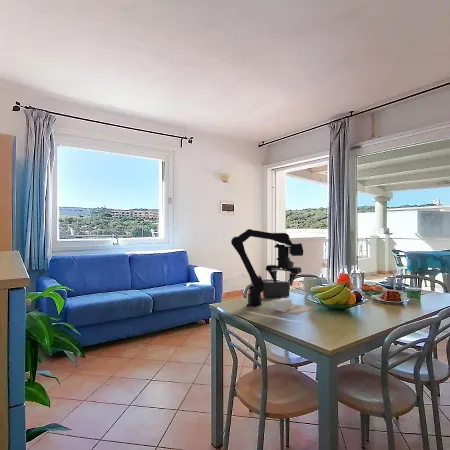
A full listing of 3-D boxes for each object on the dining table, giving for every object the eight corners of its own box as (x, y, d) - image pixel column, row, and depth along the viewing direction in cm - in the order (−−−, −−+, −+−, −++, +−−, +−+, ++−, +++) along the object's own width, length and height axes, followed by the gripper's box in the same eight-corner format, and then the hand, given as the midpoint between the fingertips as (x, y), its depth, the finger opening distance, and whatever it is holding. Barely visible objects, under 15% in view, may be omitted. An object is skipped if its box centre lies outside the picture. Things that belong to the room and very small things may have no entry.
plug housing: (275, 309, 158) (275, 300, 158) (284, 305, 166) (284, 297, 166) (284, 311, 155) (284, 302, 155) (293, 307, 163) (293, 298, 163)
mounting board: (270, 311, 158) (270, 305, 158) (286, 304, 172) (286, 298, 172) (297, 316, 149) (297, 309, 149) (313, 308, 163) (313, 302, 163)
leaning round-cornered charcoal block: (287, 295, 193) (287, 280, 193) (289, 297, 189) (289, 281, 189) (261, 296, 191) (261, 281, 191) (263, 298, 186) (263, 282, 186)
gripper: (305, 255, 171) (305, 284, 171) (275, 253, 182) (275, 280, 182) (296, 257, 162) (296, 288, 162) (265, 255, 173) (265, 283, 173)
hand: (283, 284), depth 170 cm, fingers open, 9 cm apart
